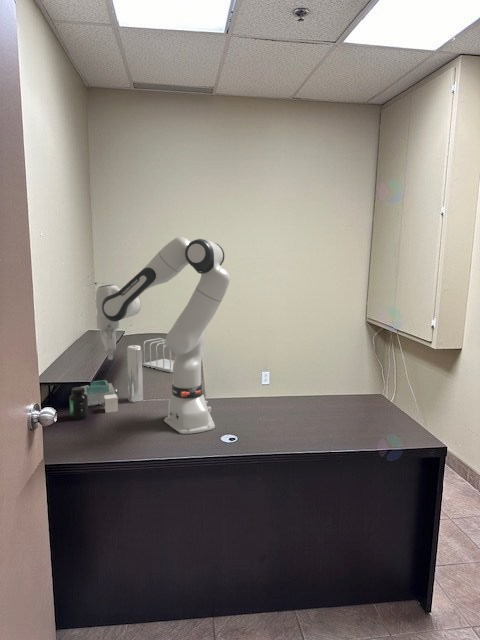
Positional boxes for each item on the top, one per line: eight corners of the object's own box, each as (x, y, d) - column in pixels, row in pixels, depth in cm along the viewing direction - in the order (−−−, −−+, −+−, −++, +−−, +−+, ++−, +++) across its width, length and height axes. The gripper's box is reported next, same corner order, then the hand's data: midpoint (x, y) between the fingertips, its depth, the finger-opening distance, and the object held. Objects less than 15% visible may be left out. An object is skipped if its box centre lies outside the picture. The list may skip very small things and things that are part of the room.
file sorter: (192, 367, 248) (192, 341, 246) (170, 373, 235) (170, 346, 232) (163, 361, 263) (163, 337, 261) (142, 366, 250) (141, 341, 248)
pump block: (118, 411, 175) (117, 397, 174) (102, 413, 173) (102, 399, 172) (116, 407, 180) (115, 394, 179) (101, 409, 177) (100, 395, 176)
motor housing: (120, 401, 186) (119, 385, 185) (82, 406, 180) (81, 389, 179) (115, 392, 199) (115, 377, 198) (80, 397, 193) (79, 381, 192)
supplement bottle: (70, 421, 163) (69, 392, 162) (69, 415, 170) (68, 387, 168) (89, 418, 166) (87, 389, 165) (87, 413, 173) (86, 385, 171)
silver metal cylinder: (139, 402, 185) (137, 347, 182) (126, 401, 187) (124, 347, 183) (145, 398, 192) (144, 345, 188) (132, 397, 193) (130, 344, 190)
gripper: (119, 327, 163) (120, 361, 165) (112, 320, 181) (113, 351, 183) (102, 328, 160) (103, 363, 162) (97, 321, 179) (98, 352, 181)
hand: (109, 356), depth 173 cm, fingers open, 8 cm apart
